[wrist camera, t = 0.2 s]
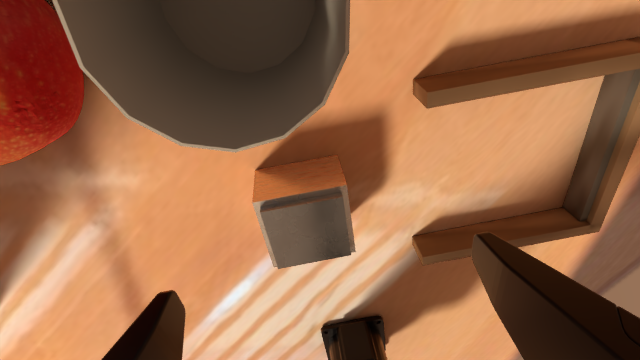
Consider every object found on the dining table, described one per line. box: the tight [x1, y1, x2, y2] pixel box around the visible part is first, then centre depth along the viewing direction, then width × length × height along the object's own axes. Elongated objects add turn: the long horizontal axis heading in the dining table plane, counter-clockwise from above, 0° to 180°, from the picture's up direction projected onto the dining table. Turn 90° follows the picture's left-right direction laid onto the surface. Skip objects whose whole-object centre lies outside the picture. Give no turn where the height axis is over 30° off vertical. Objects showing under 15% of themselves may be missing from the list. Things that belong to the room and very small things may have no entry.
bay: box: [413, 37, 640, 266], centre depth 25 cm, size 15×15×2 cm
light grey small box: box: [252, 155, 356, 269], centre depth 25 cm, size 6×6×5 cm
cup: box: [52, 0, 350, 152], centre depth 14 cm, size 8×8×10 cm
